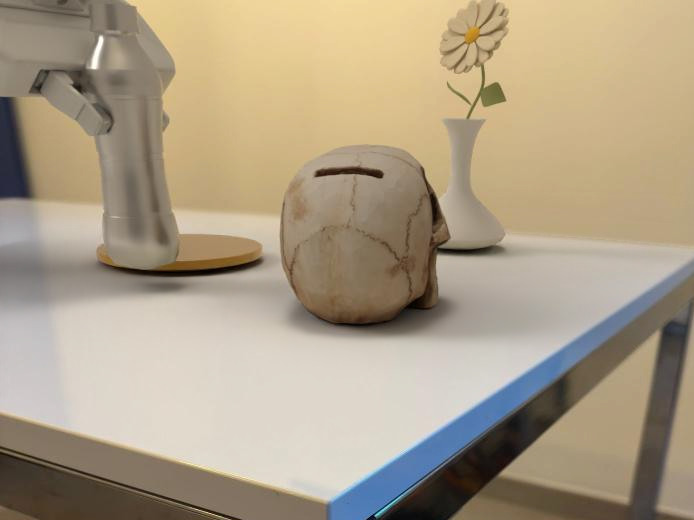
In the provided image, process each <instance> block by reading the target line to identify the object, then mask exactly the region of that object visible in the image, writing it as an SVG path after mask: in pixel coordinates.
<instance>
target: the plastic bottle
mask: <svg viewBox="0 0 694 520" xmlns="http://www.w3.org/2000/svg"><path fill="white" fill-rule="evenodd" d="M138 13H139V11H138V9H137V6H136V5H131V4H130V5H123V4H89V16H90V24H91V25H89V26H90V32H94V34H95V42H94V44H93V45H92V47H91V49H90V51H89V53H88V54H87V56H86V59H85V64H84V67H83V69H82V71H81V75H80V85H81V90H82V94H83V95H84V97H85V98H86V99H88V100H89V101H90V102H91V103H99V104H100V105H101V107H102V108H103V109H104V111H105V113H106V114H108V115H109V117H110V118H111V126H110V128H108V129H107V133H106V134H105V135H98V136H93V138H94V143H95V149H96V150H95V151H96V152H97V154H98V158H97V160H98V164H99V170H100V180H101V181H100V182H101V194H102V209H103V213H102V221H101V222H102V223H101V228H102V241H103V244H105V247H106V250H107V254H108V256H109V257H110V258H111V259H112V261H113V262H114V263H115V264H117V265H122V266H127V267H132V268H131V269H133V268H137V269H136V270H141V269H153V268H156V267H160V266H164V265H168V264H171V263H173V262H175V260H176V258H177V256H178V254H179V248H180V235H179V234H180V231H179V227H178V222H177V219H176V216H175V213H174V212H173V210H172V209H173V207H172V206H173V205H172V201H171V197H170V196H171V195H170V191H169V186H168V181H167V175H166V167H165V166H166V165H165V158H164V154H163V153H164V151H165V150H164V140H163V139H164V137H163V133H162V124H163V110H164V106H163V105H164V99H163V96H164V94H163V84H162V81H161V78H160V75H159V73H158V71H157V69H156V67H155V66H154V64H153V62H152V61H151V59H150V58H149V56H148V55H147V54H146V52H145V51H144V49H143V48H142V47H141V45H140V44H139V42H138V38H137V34H141V29H140V27H139V22H138Z"/></svg>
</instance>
